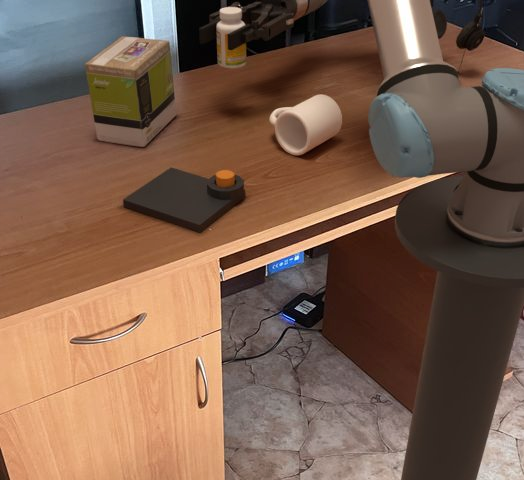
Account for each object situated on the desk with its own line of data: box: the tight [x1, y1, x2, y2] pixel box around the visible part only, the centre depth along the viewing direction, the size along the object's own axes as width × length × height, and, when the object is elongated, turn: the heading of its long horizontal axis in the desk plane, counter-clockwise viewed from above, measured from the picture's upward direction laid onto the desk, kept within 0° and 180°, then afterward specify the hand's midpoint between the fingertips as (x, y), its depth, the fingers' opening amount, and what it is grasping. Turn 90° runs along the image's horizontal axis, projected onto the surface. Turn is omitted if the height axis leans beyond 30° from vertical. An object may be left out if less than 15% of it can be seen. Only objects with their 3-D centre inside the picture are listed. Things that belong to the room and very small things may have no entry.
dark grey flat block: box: [122, 167, 246, 233], centre depth 127 cm, size 15×14×3 cm
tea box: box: [85, 35, 177, 148], centre depth 144 cm, size 15×10×15 cm, turn 161°
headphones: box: [430, 0, 486, 74], centre depth 165 cm, size 15×11×20 cm
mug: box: [269, 93, 343, 156], centre depth 142 cm, size 12×10×8 cm
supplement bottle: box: [216, 6, 247, 69], centre depth 144 cm, size 5×5×10 cm
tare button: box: [215, 169, 236, 187], centre depth 127 cm, size 3×3×2 cm
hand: (215, 39), depth 140 cm, fingers closed on supplement bottle, 5 cm apart
